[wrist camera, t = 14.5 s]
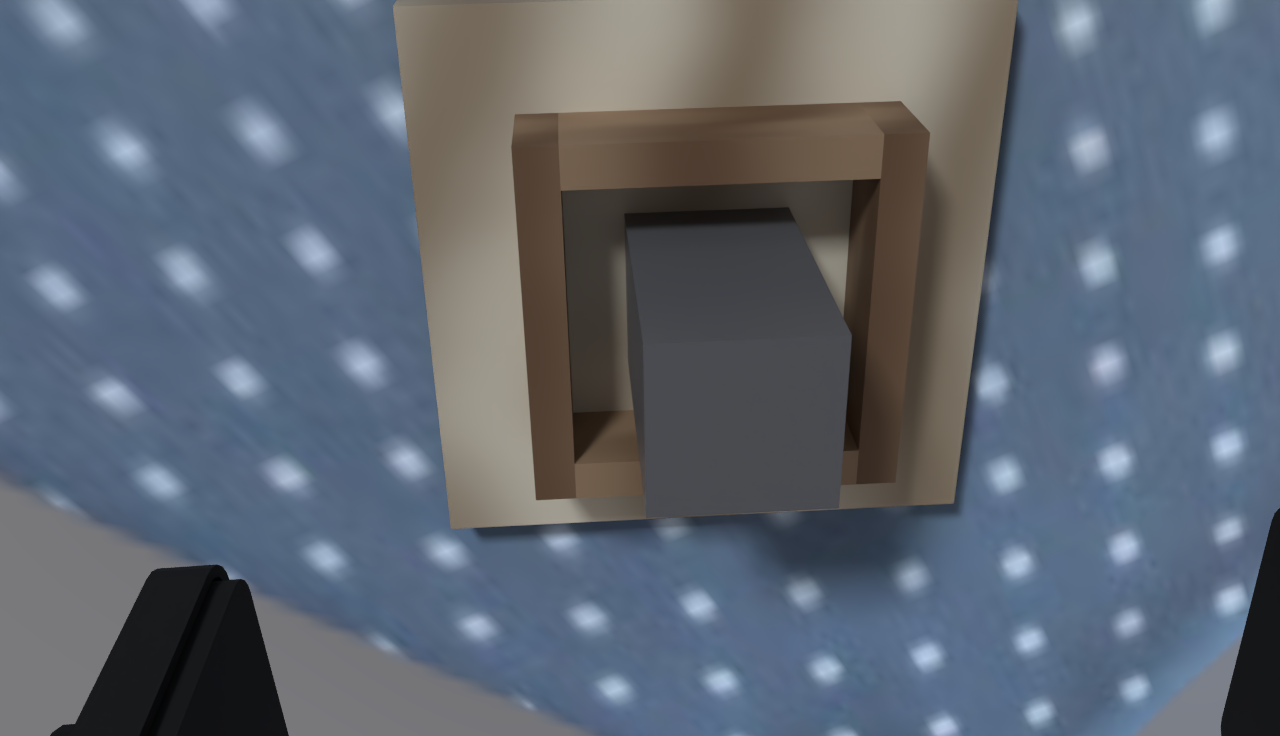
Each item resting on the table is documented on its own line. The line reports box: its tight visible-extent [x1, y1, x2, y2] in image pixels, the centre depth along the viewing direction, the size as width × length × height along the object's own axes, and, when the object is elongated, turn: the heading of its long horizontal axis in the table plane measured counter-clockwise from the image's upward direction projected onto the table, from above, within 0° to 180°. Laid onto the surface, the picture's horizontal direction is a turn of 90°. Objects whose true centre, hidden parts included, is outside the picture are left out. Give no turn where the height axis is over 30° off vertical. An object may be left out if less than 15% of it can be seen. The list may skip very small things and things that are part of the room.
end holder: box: [393, 0, 1018, 529], centre depth 29 cm, size 14×14×4 cm
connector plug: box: [624, 207, 852, 518], centre depth 27 cm, size 4×4×7 cm
